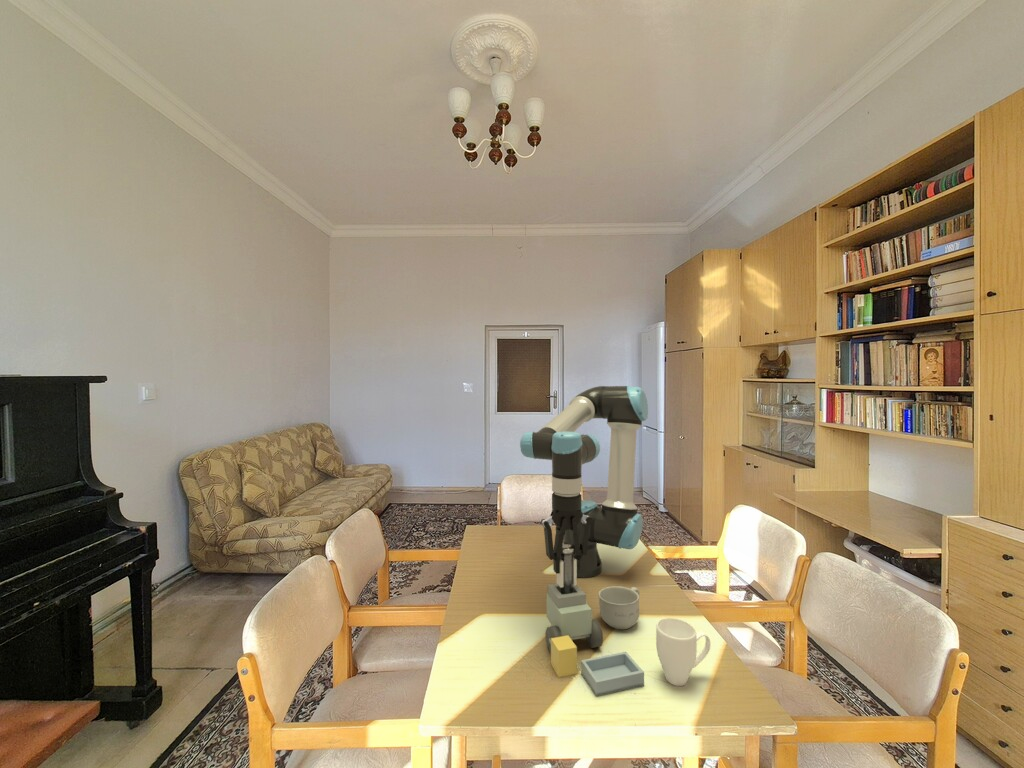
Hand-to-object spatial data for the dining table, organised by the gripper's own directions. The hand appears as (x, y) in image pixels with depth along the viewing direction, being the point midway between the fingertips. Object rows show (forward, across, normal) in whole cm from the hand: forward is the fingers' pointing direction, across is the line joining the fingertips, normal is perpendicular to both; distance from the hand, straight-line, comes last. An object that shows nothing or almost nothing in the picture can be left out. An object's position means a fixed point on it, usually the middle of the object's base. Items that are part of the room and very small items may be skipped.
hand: (566, 583), depth 111 cm
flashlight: (+4, 0, 0) cm, 4 cm away
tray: (+14, -3, +17) cm, 22 cm away
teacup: (+14, -18, -3) cm, 23 cm away
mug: (+14, -19, +21) cm, 32 cm away
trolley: (+14, 0, +1) cm, 14 cm away
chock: (+14, +5, +11) cm, 18 cm away
